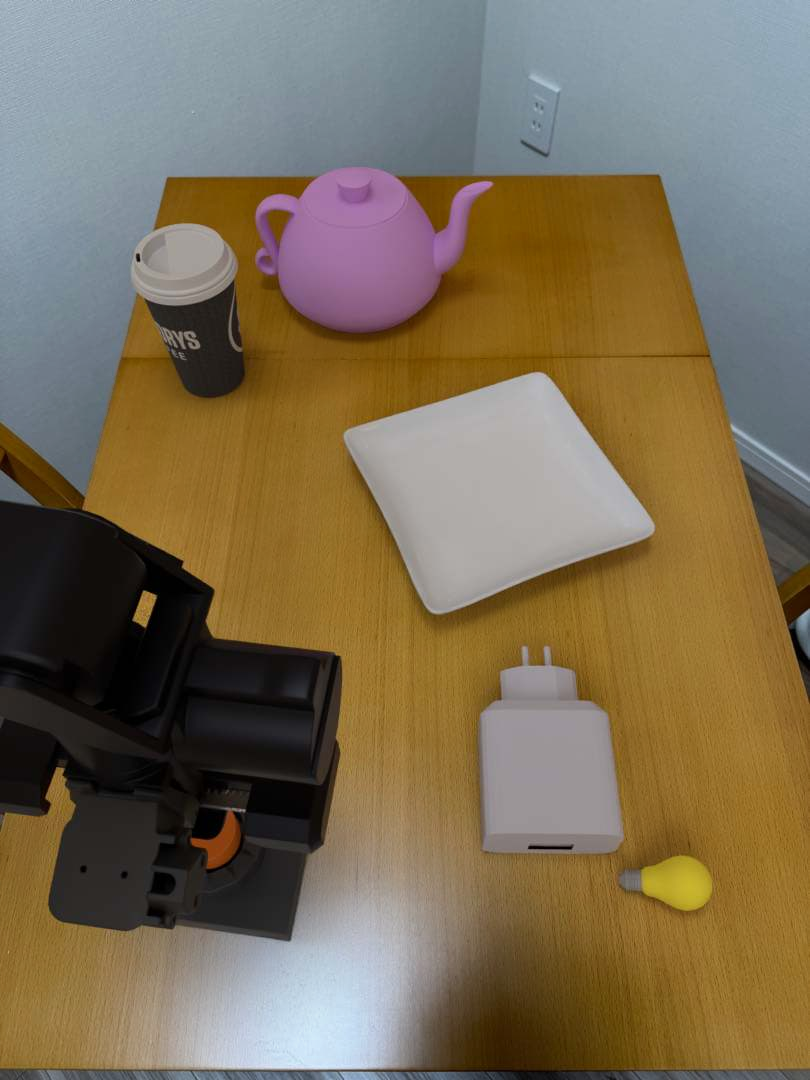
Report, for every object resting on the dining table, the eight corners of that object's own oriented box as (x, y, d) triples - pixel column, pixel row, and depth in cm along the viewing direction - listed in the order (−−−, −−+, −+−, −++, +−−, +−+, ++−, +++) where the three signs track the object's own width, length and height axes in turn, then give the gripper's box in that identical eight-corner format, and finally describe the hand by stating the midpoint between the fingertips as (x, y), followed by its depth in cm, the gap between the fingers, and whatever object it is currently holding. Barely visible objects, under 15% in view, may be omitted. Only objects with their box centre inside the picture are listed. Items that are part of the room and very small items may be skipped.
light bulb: (714, 908, 58) (715, 914, 54) (623, 904, 59) (618, 909, 56) (710, 855, 59) (710, 857, 55) (620, 852, 60) (615, 854, 57)
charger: (590, 661, 68) (613, 854, 60) (474, 660, 69) (481, 853, 60) (600, 632, 64) (626, 835, 56) (477, 632, 65) (485, 834, 56)
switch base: (117, 916, 58) (98, 903, 55) (160, 773, 64) (146, 753, 60) (290, 941, 57) (282, 929, 54) (319, 794, 63) (313, 775, 59)
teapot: (246, 340, 90) (222, 227, 79) (271, 237, 100) (253, 124, 89) (484, 347, 89) (493, 234, 78) (485, 242, 99) (493, 128, 88)
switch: (174, 864, 56) (166, 856, 55) (190, 804, 59) (183, 794, 57) (233, 873, 56) (227, 864, 54) (247, 812, 58) (242, 802, 56)
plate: (655, 551, 74) (664, 528, 71) (430, 636, 70) (431, 616, 67) (540, 390, 86) (544, 365, 83) (340, 455, 81) (338, 430, 78)
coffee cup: (181, 339, 91) (143, 214, 78) (269, 346, 90) (245, 221, 77) (154, 404, 85) (108, 281, 73) (247, 413, 84) (217, 290, 72)
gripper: (-144, 864, 37) (1, 934, 50) (280, 925, 35) (317, 981, 48) (-34, 637, 43) (69, 751, 56) (330, 679, 42) (350, 787, 54)
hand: (195, 816), depth 53 cm, fingers closed
